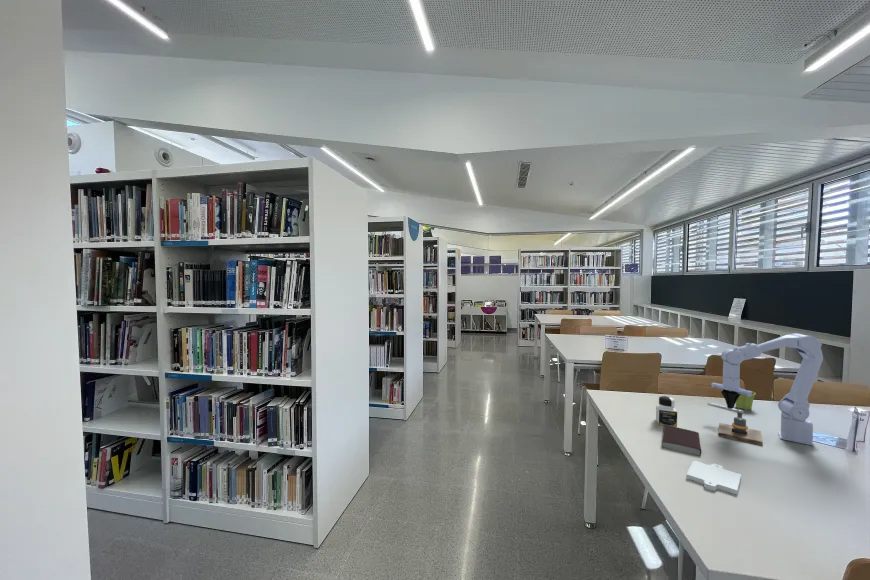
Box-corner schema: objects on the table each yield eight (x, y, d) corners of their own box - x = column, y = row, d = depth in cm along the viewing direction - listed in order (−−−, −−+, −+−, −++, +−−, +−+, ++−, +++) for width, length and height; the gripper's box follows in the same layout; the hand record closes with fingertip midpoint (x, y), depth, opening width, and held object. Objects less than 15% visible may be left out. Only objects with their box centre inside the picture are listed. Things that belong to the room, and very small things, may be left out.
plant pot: (727, 404, 193) (727, 388, 193) (746, 405, 192) (747, 389, 191) (739, 410, 184) (740, 393, 183) (760, 411, 182) (760, 394, 182)
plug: (747, 435, 154) (747, 418, 154) (747, 438, 150) (748, 422, 150) (731, 431, 157) (732, 415, 157) (731, 435, 153) (732, 419, 153)
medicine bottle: (658, 424, 164) (659, 398, 164) (655, 419, 171) (656, 394, 171) (677, 427, 162) (677, 400, 161) (673, 421, 168) (673, 396, 168)
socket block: (760, 434, 154) (761, 417, 154) (762, 445, 144) (763, 426, 144) (719, 425, 163) (719, 409, 163) (718, 435, 153) (718, 418, 153)
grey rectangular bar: (744, 413, 158) (744, 410, 158) (742, 414, 156) (742, 411, 156) (709, 404, 169) (709, 401, 169) (706, 405, 168) (707, 402, 168)
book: (698, 439, 151) (699, 431, 151) (701, 457, 135) (701, 448, 135) (663, 432, 158) (663, 424, 158) (661, 448, 142) (662, 440, 142)
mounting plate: (694, 463, 130) (694, 458, 130) (741, 477, 121) (741, 471, 121) (684, 482, 117) (684, 477, 117) (736, 499, 108) (736, 493, 108)
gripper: (707, 374, 162) (706, 403, 163) (745, 382, 149) (744, 414, 149) (717, 372, 165) (716, 402, 165) (755, 380, 152) (754, 412, 152)
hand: (730, 407), depth 158 cm, fingers closed
